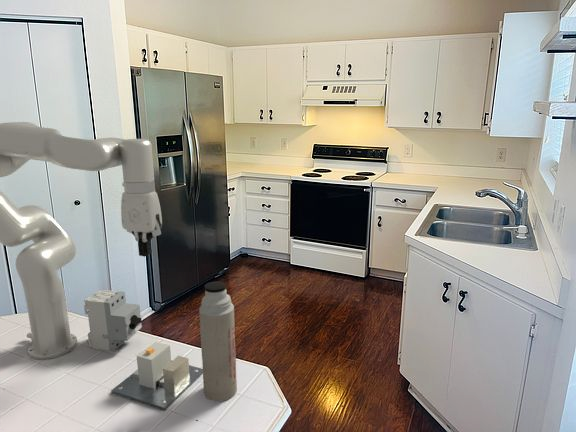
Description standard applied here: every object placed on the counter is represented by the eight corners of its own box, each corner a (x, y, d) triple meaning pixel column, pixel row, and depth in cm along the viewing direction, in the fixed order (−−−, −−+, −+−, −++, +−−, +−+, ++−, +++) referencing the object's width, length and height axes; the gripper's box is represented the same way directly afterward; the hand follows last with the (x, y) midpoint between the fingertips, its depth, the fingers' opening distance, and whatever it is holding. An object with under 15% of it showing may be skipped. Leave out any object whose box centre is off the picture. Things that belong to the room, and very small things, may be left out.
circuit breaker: (134, 353, 119) (129, 304, 116) (89, 348, 122) (83, 300, 118) (147, 339, 126) (143, 293, 123) (105, 334, 129) (99, 289, 125)
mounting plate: (111, 393, 102) (108, 368, 101) (155, 358, 117) (153, 336, 115) (164, 410, 96) (162, 384, 95) (204, 371, 111) (203, 348, 109)
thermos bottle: (242, 384, 106) (239, 280, 99) (227, 405, 98) (222, 294, 91) (214, 378, 108) (209, 276, 101) (197, 397, 101) (190, 289, 94)
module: (139, 384, 104) (136, 352, 102) (158, 368, 111) (155, 338, 108) (153, 388, 103) (150, 356, 101) (172, 372, 109) (169, 341, 107)
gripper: (106, 187, 108) (113, 255, 113) (153, 192, 103) (158, 263, 107) (127, 183, 115) (133, 247, 120) (172, 187, 109) (177, 254, 114)
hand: (145, 254), depth 113 cm, fingers closed
